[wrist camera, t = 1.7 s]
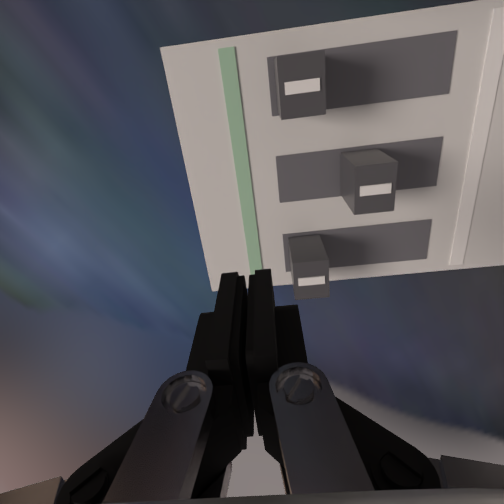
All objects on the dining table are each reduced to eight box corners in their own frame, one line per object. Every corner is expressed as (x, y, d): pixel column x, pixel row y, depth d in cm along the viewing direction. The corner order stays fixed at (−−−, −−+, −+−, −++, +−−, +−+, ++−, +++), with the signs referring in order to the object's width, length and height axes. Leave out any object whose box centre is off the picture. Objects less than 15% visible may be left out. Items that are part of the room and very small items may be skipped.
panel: (552, -7, 20) (581, -16, 19) (491, 253, 29) (507, 265, 27) (168, 49, 22) (159, 47, 20) (214, 278, 31) (212, 292, 29)
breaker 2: (319, 234, 26) (329, 260, 22) (320, 267, 27) (329, 297, 23) (288, 237, 26) (292, 264, 22) (290, 270, 27) (295, 300, 24)
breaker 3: (376, 147, 23) (398, 162, 19) (374, 190, 24) (394, 211, 20) (340, 152, 23) (355, 166, 19) (340, 194, 24) (354, 215, 21)
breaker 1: (313, 54, 20) (325, 49, 17) (315, 107, 22) (326, 114, 18) (273, 59, 20) (276, 56, 17) (277, 112, 22) (281, 120, 18)
